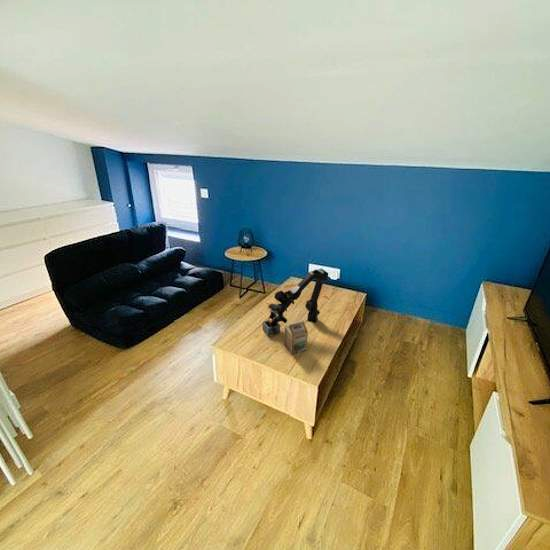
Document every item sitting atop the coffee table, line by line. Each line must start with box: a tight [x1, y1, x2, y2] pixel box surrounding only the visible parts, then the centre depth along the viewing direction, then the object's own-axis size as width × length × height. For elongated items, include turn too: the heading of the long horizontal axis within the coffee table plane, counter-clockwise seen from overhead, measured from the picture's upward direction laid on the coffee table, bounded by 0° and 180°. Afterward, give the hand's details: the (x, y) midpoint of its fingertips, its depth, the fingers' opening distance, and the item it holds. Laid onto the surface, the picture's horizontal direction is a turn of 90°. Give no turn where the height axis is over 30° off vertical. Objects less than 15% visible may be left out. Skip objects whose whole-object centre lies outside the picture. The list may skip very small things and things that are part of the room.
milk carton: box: [283, 320, 309, 356], centre depth 183 cm, size 11×10×19 cm
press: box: [262, 319, 281, 337], centre depth 200 cm, size 9×11×6 cm
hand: (269, 323), depth 199 cm, fingers closed on plunger, 3 cm apart
